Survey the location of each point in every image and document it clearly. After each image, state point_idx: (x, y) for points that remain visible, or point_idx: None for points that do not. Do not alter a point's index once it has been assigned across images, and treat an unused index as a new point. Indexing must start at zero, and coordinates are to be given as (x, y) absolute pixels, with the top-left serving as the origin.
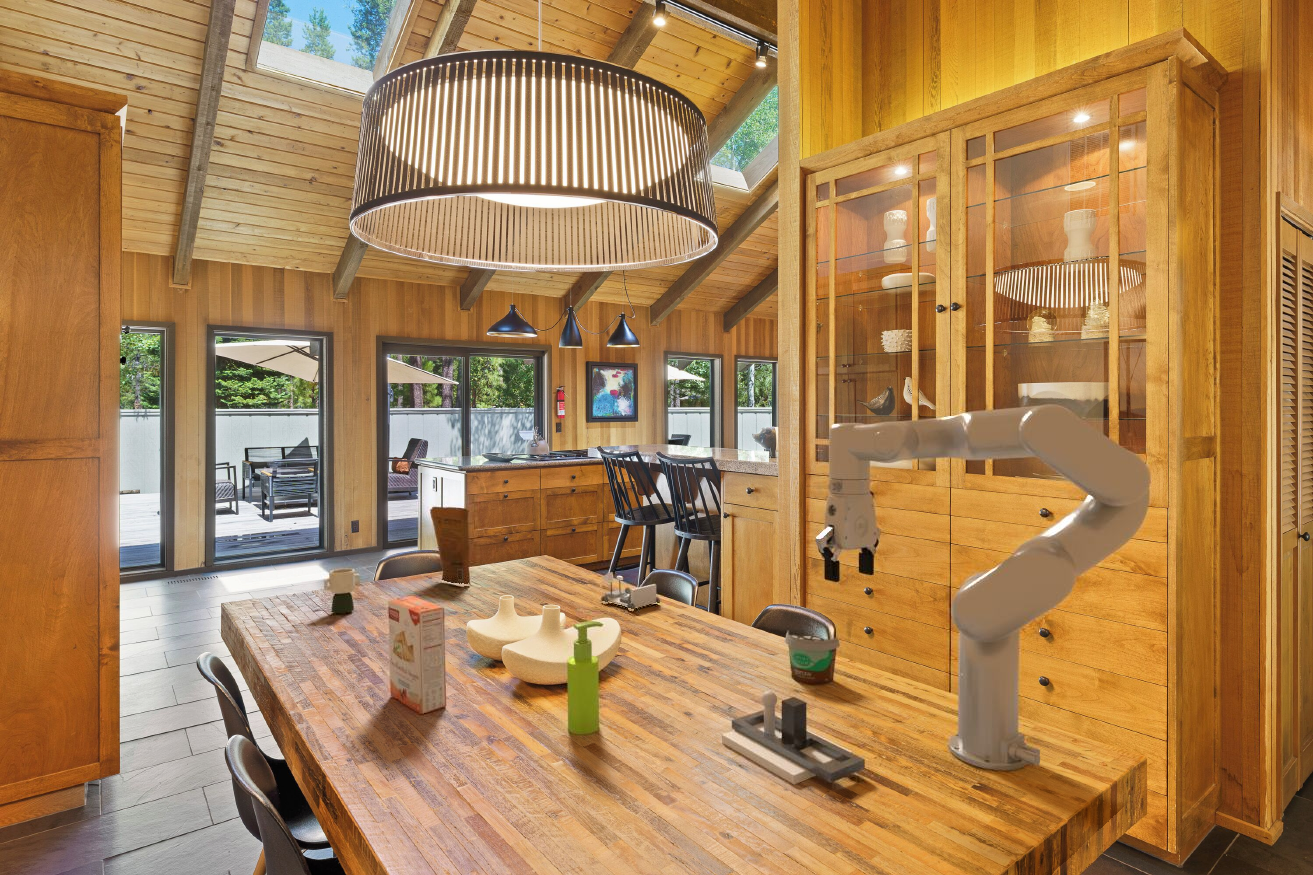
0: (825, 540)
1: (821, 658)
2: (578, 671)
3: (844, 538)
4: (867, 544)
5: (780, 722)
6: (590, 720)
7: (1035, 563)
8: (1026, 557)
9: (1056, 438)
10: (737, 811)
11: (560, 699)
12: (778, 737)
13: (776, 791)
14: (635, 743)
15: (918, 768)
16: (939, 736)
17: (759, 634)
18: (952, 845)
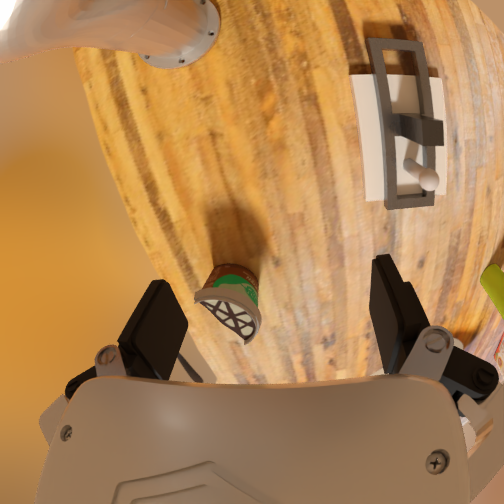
0: (500, 427)
1: (231, 284)
2: None
3: (454, 451)
4: (152, 391)
5: (395, 169)
6: (498, 270)
7: None
8: None
9: None
10: (491, 83)
11: (464, 324)
12: (405, 153)
13: (455, 81)
14: (487, 231)
15: (284, 26)
16: (195, 80)
17: (219, 374)
18: None
